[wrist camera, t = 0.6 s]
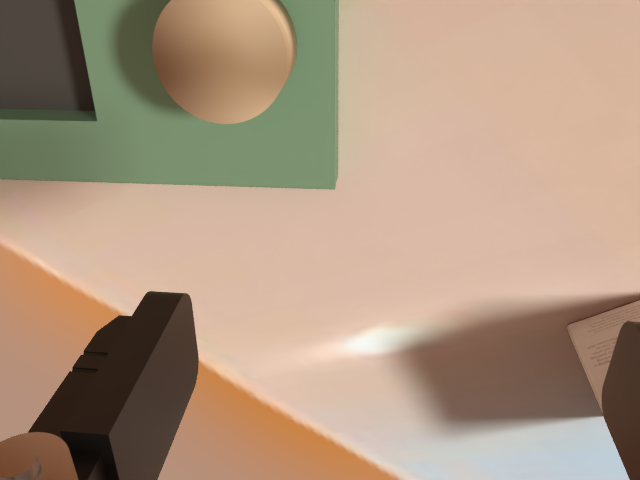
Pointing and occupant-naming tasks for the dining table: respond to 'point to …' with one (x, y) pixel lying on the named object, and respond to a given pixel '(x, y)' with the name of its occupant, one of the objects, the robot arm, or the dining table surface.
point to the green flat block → (153, 103)
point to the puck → (224, 56)
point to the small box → (600, 342)
